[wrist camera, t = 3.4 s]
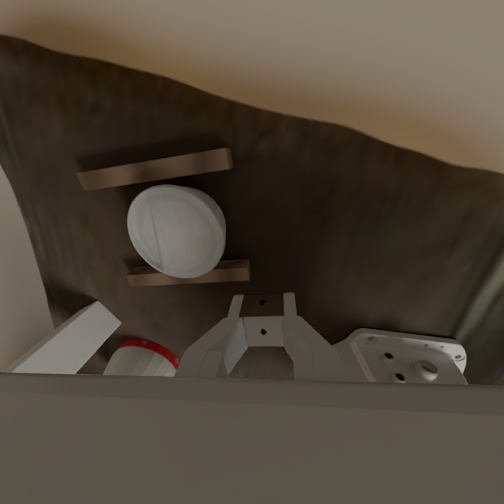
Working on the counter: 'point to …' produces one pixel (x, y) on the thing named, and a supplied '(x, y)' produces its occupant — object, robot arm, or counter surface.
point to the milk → (69, 343)
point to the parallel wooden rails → (165, 170)
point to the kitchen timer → (142, 360)
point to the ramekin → (177, 230)
